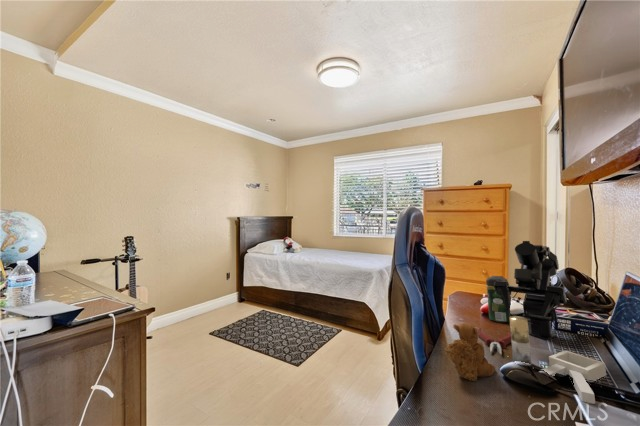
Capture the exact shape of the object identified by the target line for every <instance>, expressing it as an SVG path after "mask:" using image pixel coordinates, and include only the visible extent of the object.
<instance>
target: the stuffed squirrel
mask: <svg viewBox="0 0 640 426" xmlns="http://www.w3.org/2000/svg"><path fill="white" fill-rule="evenodd" d="M452 328H453V329H454V330H455V331H457V333H458V336H459V337H458V338H459V339H453V342H451V343H449V344H448V345H447V346H446V347H445V348H444V350H445V352H444V354H445V355H447V356H448V357H449V359H450V361H451V362H452V364H454V368H455V369H456V373H457V374H458V376H459V377H461V378H462V379H465V380H468V381H470V382H476V381H477V380H478V377H479V378H483V377H490V376H492V375H493V374H494V373H495V371H496V367H495V365H493V364H492V363H489V361H488V359H487V358H486V357H485V348H484V347H485V346H484V345H483V343H482V342H481V341H479V337H478V335H477V332H478V328H479V327H477V326H475V325H473V323H470V322H463V323H460V324H459V325H458V324H453V326H452ZM478 333H479V332H478ZM479 335H480V333H479Z"/></svg>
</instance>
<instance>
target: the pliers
mask: <svg viewBox="0 0 640 426" xmlns="http://www.w3.org/2000/svg"><path fill="white" fill-rule="evenodd" d="M477 328H478V332H479V333H480V335H479V333H478V332H477V335H478V339H480V340H481V341H483V342H484V344H485V346H486V347H489V350H490V351H489V352H490V354H493V353H494V351H495V349H496V351H497V352H498V353H499V354H500V356H502V354H503V352H502V349H506V348H507V345H510V344H512V342H511V331H507V335H506V336H503V337H502V338H499V339H496V340H494V338H491V337H490V336H488V335H487V334H485V333H484V332H483V331H481V329H482V328H481V327H477Z"/></svg>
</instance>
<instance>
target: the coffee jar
mask: <svg viewBox="0 0 640 426" xmlns="http://www.w3.org/2000/svg"><path fill="white" fill-rule="evenodd" d="M497 280H498V281H507V282H508V279H507V278H505V277H504V276H501V275H492V276H489V277H487V278H486V279H485V282H486V294H487V295H486V298H487V307H488V318H489V320H491V321H494V322H496V323H510V316H512V315H511V309H510V310H509V311H507V308H506V304H505V300H504V298H502V297H501V296H500V295H498V294H497V292H496V290H495V288H494V282H495V281H497Z"/></svg>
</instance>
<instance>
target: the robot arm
mask: <svg viewBox="0 0 640 426" xmlns="http://www.w3.org/2000/svg"><path fill="white" fill-rule="evenodd" d="M514 252H515V255H516V257H517V260H518V263H519V264H520V265H521V266H520V268H514V274H513V275H514V276H513V278H514V279H515V284H516V285H510V283H509V282H508V280H507V281H498V280H497V281H495V282H494V288H495V290H496V292H497V294H498V295H500V296H501V297H502V298H504V300H505V304H506V308H507V311H509V310H510V311H511V303H512V293H519V294H526V296H525V300H523V301H522V307H523V313H524V314H523V315H524V318H527V319H528V318H529V321H530V323H529V324H530V331H529V330H528V331H529V336H534V337H537V338H539V339H543V340H550V339H553V338H556V337H557V334H555V333H552V325H551V322H552V323H554V322H558V314H557V310H556V308H555V307H557V306H561V305H566V304H567V294H566V292H565V289H564V288H563V286H556V285H550V281H551V277H554V276H557V275H556V274H557V271H558V270H559V269H560V267H559V265H560V264H559V260H558V256H557V254H554V252H552V251H551V248H550V246H543V244H532V243H531V242H530V240H522V242H521V243H519V244H517V245H516V246H515V247H514Z"/></svg>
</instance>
